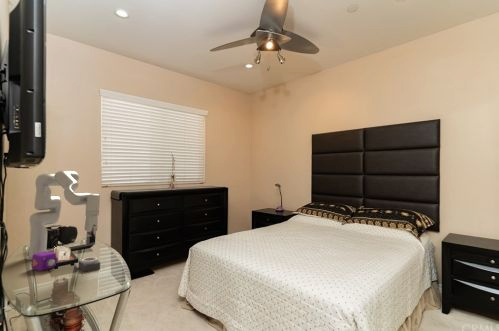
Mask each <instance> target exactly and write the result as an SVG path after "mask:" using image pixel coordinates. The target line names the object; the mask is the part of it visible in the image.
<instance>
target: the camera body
mask: <svg viewBox="0 0 499 331" xmlns="http://www.w3.org/2000/svg"><path fill="white" fill-rule="evenodd" d="M78 268H79V270H81V271H82V272H83V273H86V272H91V271H96V270H100V269H101V261H99V260H98V257H96V256H89V257H88V256H87V257H84V258H82V259H81V260H78Z"/></svg>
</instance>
